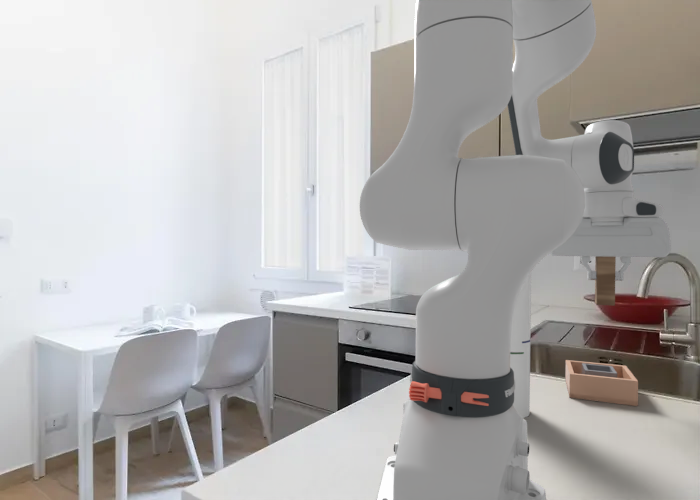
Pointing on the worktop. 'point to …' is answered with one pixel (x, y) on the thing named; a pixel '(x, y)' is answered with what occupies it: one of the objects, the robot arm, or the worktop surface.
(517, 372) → the cylindrical container
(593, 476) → the worktop surface
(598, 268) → the tall wooden post
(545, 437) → the worktop surface
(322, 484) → the worktop surface
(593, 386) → the pink planter box
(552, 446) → the worktop surface
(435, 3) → the robot arm
